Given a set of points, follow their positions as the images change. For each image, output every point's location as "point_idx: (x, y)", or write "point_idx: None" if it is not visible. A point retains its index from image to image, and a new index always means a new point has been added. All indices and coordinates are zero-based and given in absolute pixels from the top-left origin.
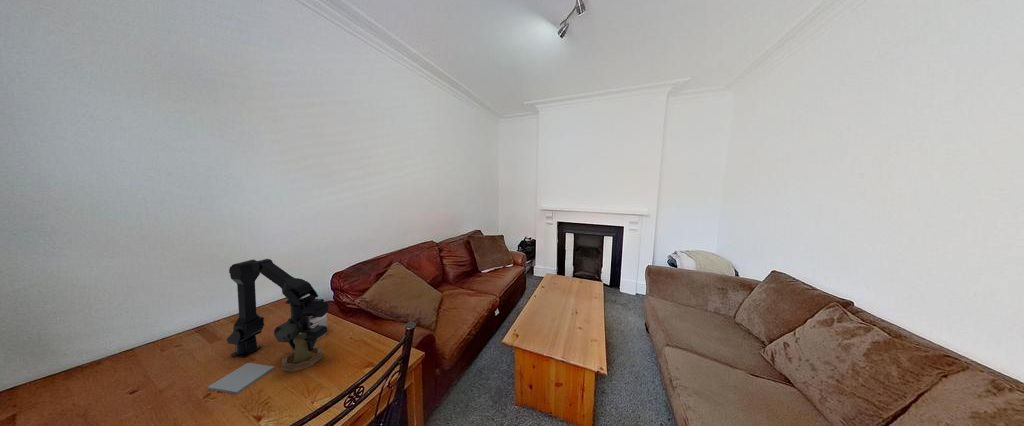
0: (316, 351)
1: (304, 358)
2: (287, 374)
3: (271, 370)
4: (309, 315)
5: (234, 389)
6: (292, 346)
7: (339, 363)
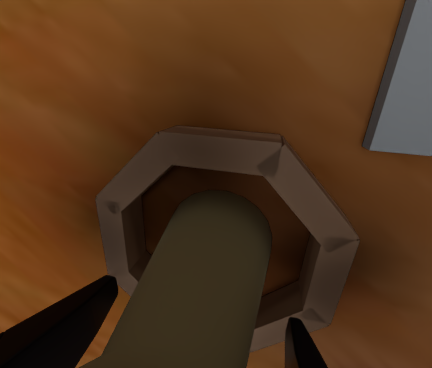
0: None
1: (167, 229)
2: (193, 95)
3: (370, 120)
4: None
5: None
6: (295, 351)
7: (5, 209)
